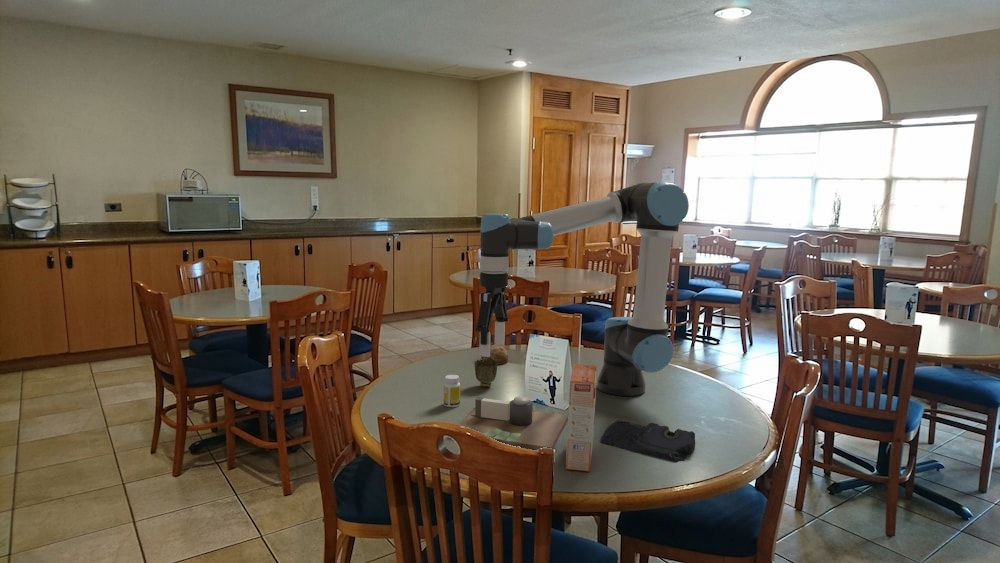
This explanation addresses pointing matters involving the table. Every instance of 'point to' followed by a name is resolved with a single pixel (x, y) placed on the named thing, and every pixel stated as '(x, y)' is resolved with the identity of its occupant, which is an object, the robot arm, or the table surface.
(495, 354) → the bread roll
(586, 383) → the cracker box
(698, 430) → the table surface
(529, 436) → the brown flat panel
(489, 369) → the cup
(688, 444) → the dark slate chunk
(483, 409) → the peg dial
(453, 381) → the supplement bottle
